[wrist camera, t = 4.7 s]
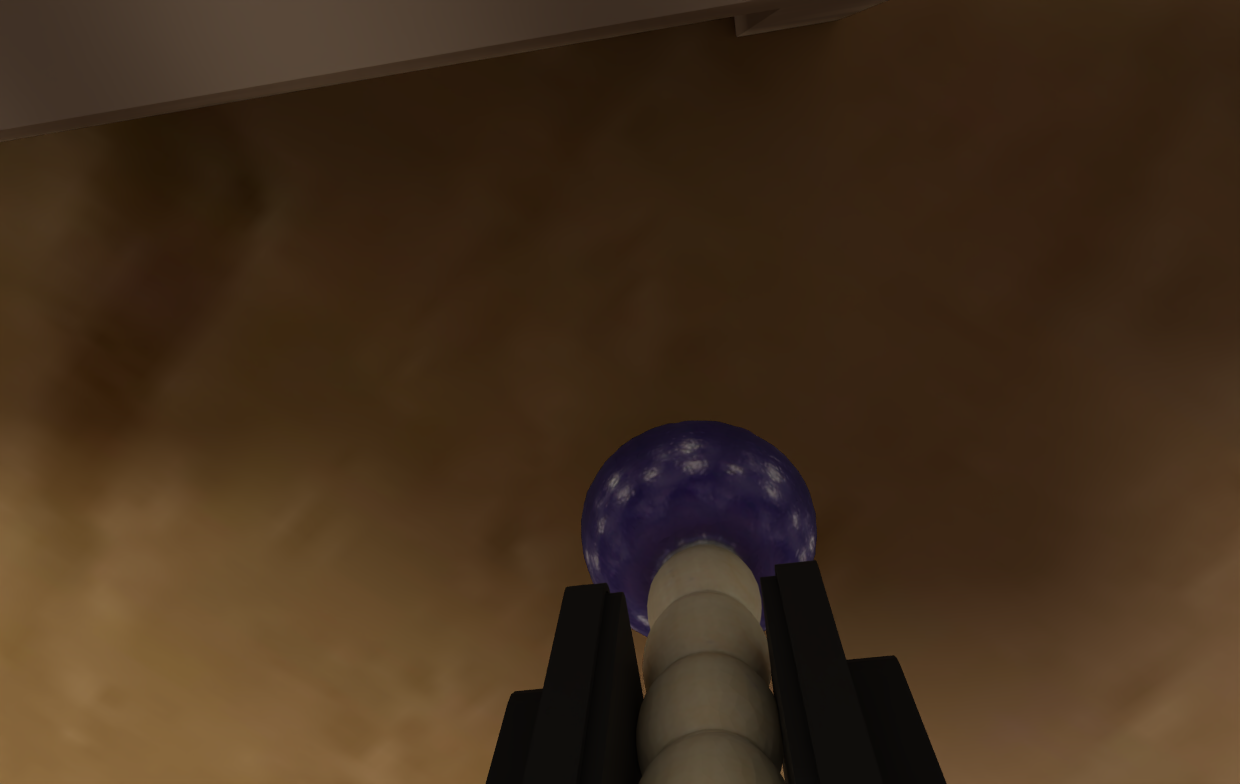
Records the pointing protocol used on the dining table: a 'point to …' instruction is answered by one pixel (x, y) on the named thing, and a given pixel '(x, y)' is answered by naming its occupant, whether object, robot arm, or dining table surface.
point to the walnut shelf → (299, 45)
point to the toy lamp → (700, 590)
